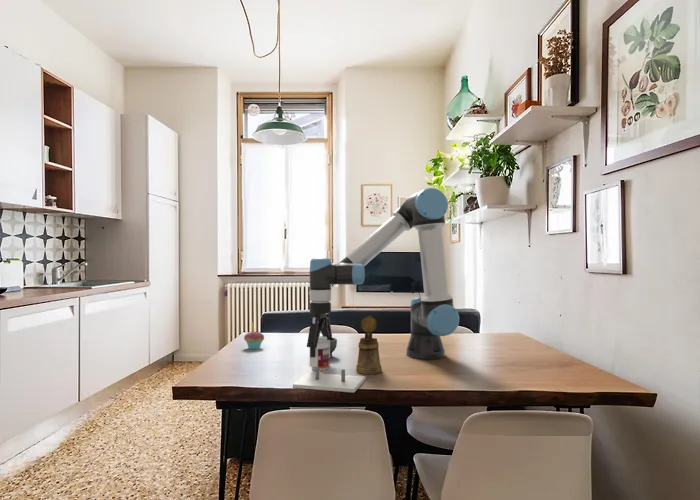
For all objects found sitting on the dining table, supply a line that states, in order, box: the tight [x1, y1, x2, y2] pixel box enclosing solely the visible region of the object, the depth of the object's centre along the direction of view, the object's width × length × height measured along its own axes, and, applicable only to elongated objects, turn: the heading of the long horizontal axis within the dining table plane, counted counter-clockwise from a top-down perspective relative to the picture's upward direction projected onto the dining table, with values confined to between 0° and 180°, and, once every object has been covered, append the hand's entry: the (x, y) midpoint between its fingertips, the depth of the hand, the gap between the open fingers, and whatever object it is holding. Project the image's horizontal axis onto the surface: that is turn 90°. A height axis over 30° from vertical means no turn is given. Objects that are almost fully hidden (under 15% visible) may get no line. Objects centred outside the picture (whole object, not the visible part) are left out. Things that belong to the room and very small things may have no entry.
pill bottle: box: [311, 335, 330, 371], centre depth 154 cm, size 6×6×11 cm
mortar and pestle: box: [319, 335, 338, 359], centre depth 173 cm, size 11×9×12 cm
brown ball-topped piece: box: [355, 315, 383, 375], centre depth 153 cm, size 9×14×18 cm, turn 176°
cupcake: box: [243, 322, 265, 350], centre depth 190 cm, size 9×8×12 cm
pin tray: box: [292, 368, 366, 394], centre depth 136 cm, size 19×14×4 cm
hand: (320, 362), depth 154 cm, fingers open, 13 cm apart
